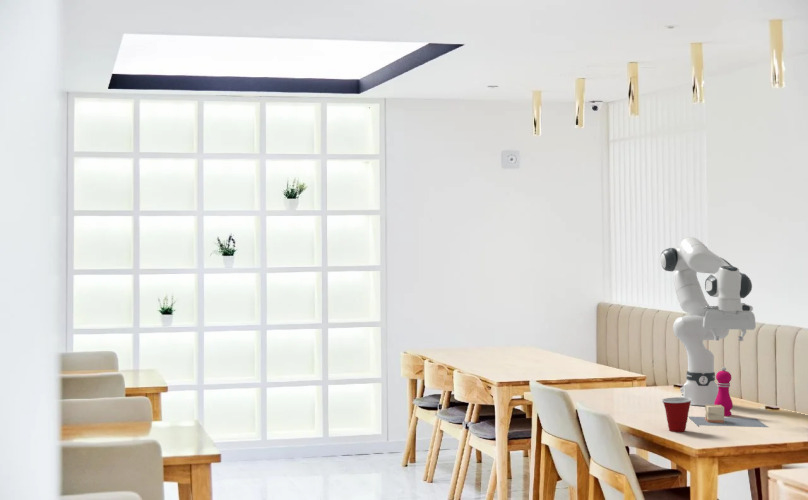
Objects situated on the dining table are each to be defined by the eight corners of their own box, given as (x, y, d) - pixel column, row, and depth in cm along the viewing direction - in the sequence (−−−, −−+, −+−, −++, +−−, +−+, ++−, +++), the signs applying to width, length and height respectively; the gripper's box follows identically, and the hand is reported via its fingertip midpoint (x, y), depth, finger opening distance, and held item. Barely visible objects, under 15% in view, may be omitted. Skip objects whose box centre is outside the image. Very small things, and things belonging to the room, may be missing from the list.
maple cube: (720, 405, 378) (720, 420, 378) (705, 404, 379) (705, 419, 378) (724, 407, 372) (724, 422, 372) (708, 406, 373) (708, 422, 373)
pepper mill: (720, 417, 387) (721, 368, 387) (710, 414, 394) (710, 366, 394) (736, 417, 389) (736, 367, 389) (725, 414, 396) (726, 365, 396)
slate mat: (688, 417, 386) (688, 416, 386) (755, 419, 383) (755, 418, 383) (698, 426, 366) (698, 425, 366) (768, 428, 363) (768, 427, 363)
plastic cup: (658, 427, 362) (658, 396, 362) (687, 428, 362) (687, 396, 362) (664, 433, 351) (665, 400, 351) (694, 433, 351) (695, 400, 351)
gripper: (704, 306, 386) (703, 340, 385) (756, 307, 383) (756, 341, 383) (701, 305, 392) (700, 339, 392) (752, 306, 390) (752, 340, 389)
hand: (728, 340), depth 387 cm, fingers open, 8 cm apart
